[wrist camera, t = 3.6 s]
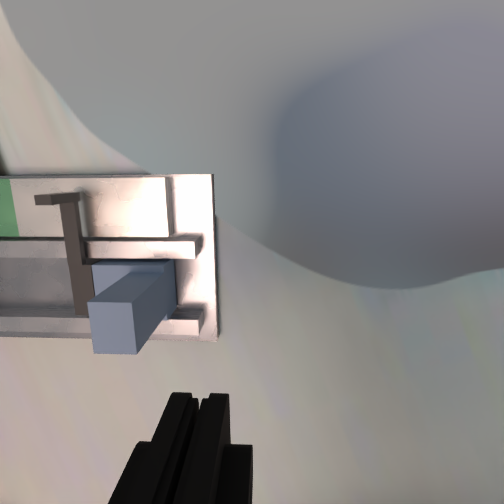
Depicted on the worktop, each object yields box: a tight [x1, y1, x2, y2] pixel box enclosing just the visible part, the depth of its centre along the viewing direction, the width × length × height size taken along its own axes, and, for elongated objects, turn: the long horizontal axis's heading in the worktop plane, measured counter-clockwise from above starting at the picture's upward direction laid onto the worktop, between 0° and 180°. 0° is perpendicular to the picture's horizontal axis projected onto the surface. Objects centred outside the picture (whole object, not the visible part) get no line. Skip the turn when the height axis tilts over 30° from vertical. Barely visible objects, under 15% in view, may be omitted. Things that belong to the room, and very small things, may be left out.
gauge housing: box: [0, 174, 219, 341], centre depth 24 cm, size 25×13×6 cm, turn 91°
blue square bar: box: [87, 258, 177, 354], centre depth 21 cm, size 5×4×8 cm
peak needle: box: [34, 192, 105, 315], centre depth 22 cm, size 2×9×5 cm, turn 0°
